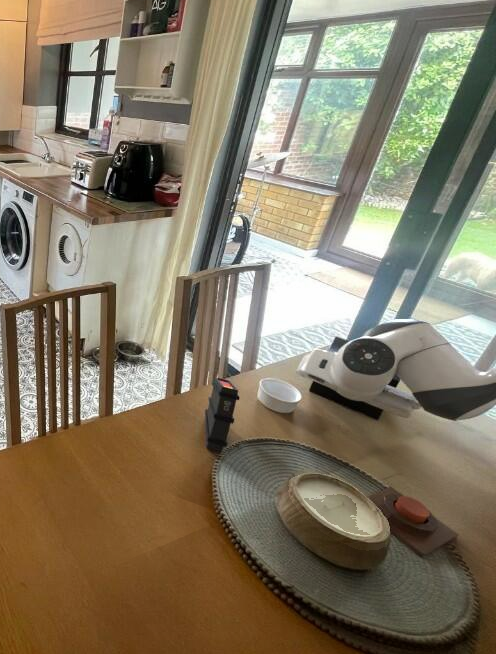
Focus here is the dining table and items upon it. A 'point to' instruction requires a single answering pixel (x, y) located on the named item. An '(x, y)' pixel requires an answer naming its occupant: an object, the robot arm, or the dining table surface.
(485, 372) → the robot arm
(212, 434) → the black battery pack
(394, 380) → the console
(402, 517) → the button block
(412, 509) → the button
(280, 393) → the ramekin
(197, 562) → the dining table surface
